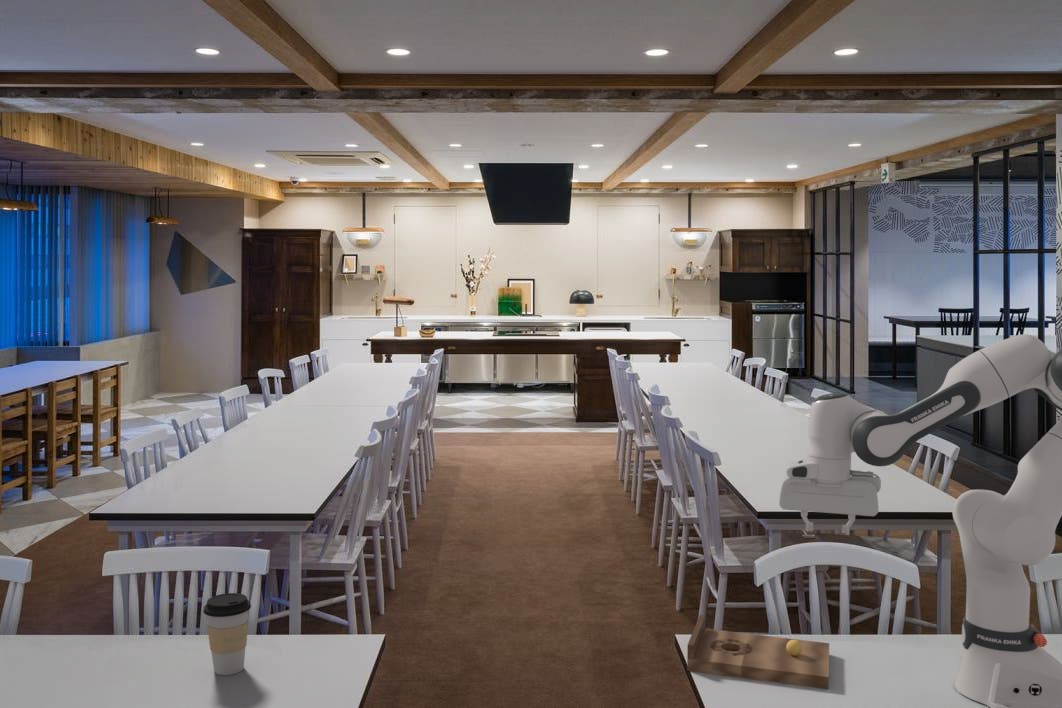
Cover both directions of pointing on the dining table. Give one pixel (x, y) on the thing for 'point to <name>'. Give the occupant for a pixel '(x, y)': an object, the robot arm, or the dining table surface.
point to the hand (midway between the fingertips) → (827, 532)
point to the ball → (794, 647)
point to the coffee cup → (227, 631)
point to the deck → (757, 657)
